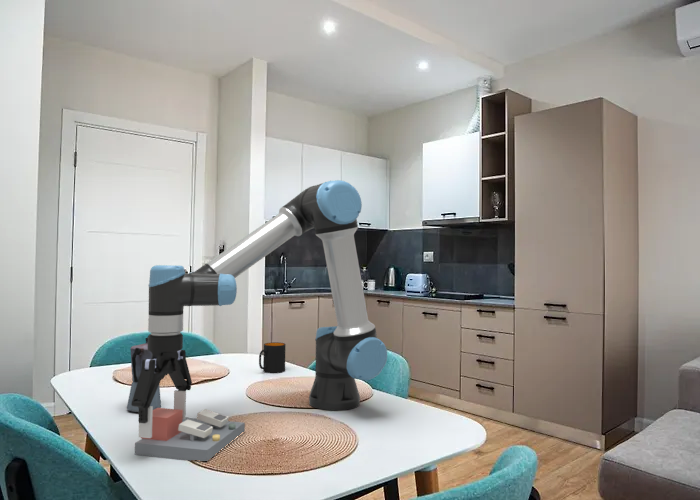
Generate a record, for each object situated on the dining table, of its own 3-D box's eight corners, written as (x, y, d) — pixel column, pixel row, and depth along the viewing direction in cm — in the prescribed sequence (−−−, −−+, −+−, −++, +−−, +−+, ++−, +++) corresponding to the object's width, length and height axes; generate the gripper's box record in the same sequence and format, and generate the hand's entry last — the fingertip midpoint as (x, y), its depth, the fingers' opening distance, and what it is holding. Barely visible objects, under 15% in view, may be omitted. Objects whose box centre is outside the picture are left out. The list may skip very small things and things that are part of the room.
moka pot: (170, 402, 151) (171, 334, 152) (151, 418, 136) (153, 342, 137) (137, 401, 151) (139, 334, 152) (115, 417, 136) (117, 342, 136)
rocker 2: (227, 422, 123) (228, 416, 123) (220, 427, 119) (222, 421, 119) (203, 414, 124) (205, 408, 124) (196, 418, 121) (197, 412, 121)
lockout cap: (182, 431, 118) (182, 409, 118) (166, 440, 112) (167, 417, 112) (157, 429, 120) (157, 407, 120) (140, 438, 113) (141, 415, 113)
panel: (244, 432, 125) (244, 418, 125) (206, 462, 107) (207, 444, 107) (181, 427, 129) (181, 412, 129) (134, 454, 110) (135, 437, 111)
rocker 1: (211, 432, 115) (213, 426, 115) (204, 438, 112) (205, 431, 112) (186, 425, 117) (187, 418, 117) (178, 430, 113) (179, 423, 113)
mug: (251, 373, 193) (251, 345, 193) (274, 368, 202) (274, 341, 202) (266, 376, 188) (267, 347, 188) (289, 370, 197) (290, 343, 197)
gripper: (180, 325, 129) (178, 410, 129) (114, 340, 105) (112, 444, 104) (207, 327, 128) (205, 412, 127) (147, 342, 103) (144, 448, 103)
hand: (163, 427), depth 116 cm, fingers open, 13 cm apart
